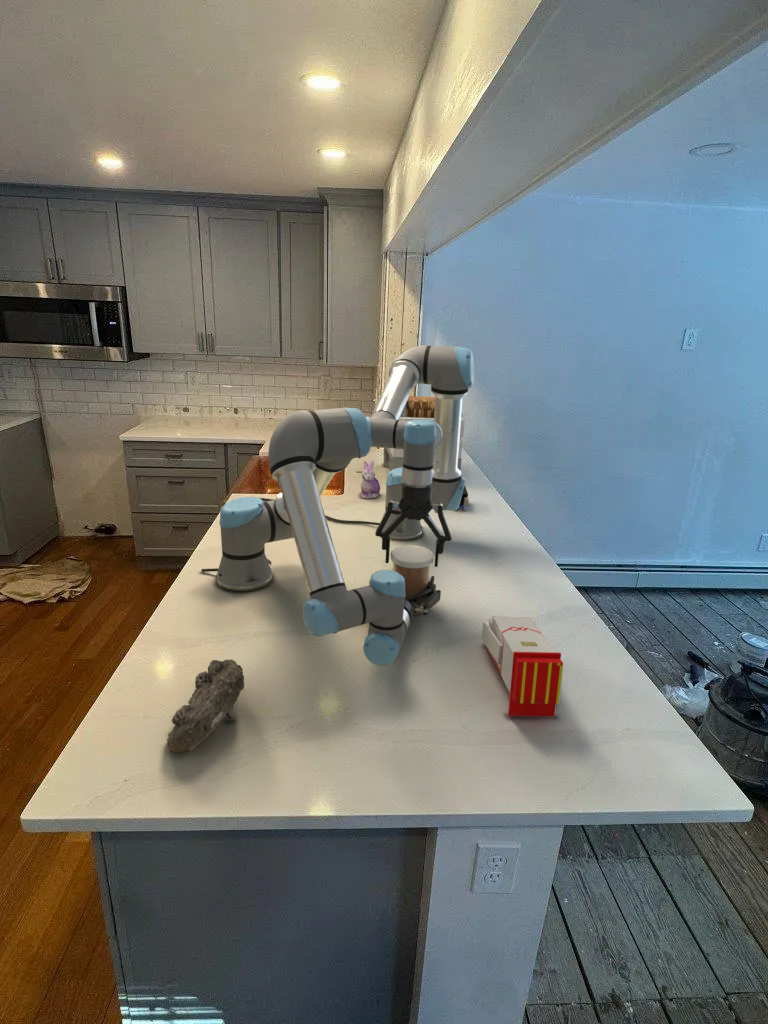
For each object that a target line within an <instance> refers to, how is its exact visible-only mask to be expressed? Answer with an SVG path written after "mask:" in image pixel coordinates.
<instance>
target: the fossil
mask: <svg viewBox="0 0 768 1024" xmlns="http://www.w3.org/2000/svg"><path fill="white" fill-rule="evenodd" d="M243 670H244V669H243V667H242V665H240V664H237V662H236V661H235V660H234V659H232V658H231V659H227V658H226V659H224V660H223V661H222V660H217V659H212V660H211V661H210V663H209V665H208V666H207V671H201V672H199V673H198V674H197V675H196V676H195V680H194V684H195V685H194V687H195V689H194V690H193V693H192V694H191V697H190V698H189V700H188V704H184V705H182V706H181V707H180V709H177V710H176V711H175V713H174V715H173V716H172V718H171V723H172V724H173V727H172V730H171V731H170V732H168V734H167V738H166V741H167V742H166V745H167V749H168V750H169V751H173V752H174V753H176V754H178V753H182V752H188V751H189V752H192V751H193V750H195V748H196V747H197V746H199V744H200V743H201V742H203V741H204V740H205V739H206V738H207V737H208V736H209V735H210V734H211V733H212V732H214V730H215V729H217V727H218V726H219V724H220V722H221V721H222V720H223V719H224V718H225V716H226V717H227V719H229V720H233V717H232V715H230V714H229V710H230V709H231V708H234V706H235V704H236V703H237V702H238V699H239V697H240V695H241V693H242V691H243V690H245V689H244V688H245V675H244V671H243Z"/></svg>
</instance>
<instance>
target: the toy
mask: <svg viewBox="0 0 768 1024" xmlns="http://www.w3.org/2000/svg"><path fill="white" fill-rule="evenodd" d="M481 632H482V633H481V640H482V642H483V644H484V646H485V648H486V650H487V652H488V654H489V655H490V657H491V659H492V661H493V663H494V664H495V666H496V668H497V670H498V671H499V674H500V676H501V678H502V680H503V682H504V684H505V687H506V688H507V690H508V692H509V700H508V702H509V703H508V710H507V711H508V712H507V715H508V717H551V718H552V717H553V718H555V716H556V707H557V705H559V704H560V698H561V697H560V695H561V688H562V687H561V686H562V678H563V669H564V662H563V661H562V653H561V652H556V651H555V649H554V648H553V647H552V645H551V644H550V643H549V641H548V639H547V638H546V637H545V635H544V634H543V633H542V631H541V630H540V629H539V628H538V626H537V624H536V622H535V621H534V620H533V619H532V617H531V616H514V615H513V616H512V615H511V616H508V615H507V616H506V615H505V616H504V615H492V618H489V620H488V623H487V621H483V623H482V631H481Z"/></svg>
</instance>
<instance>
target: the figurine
mask: <svg viewBox="0 0 768 1024" xmlns="http://www.w3.org/2000/svg"><path fill="white" fill-rule="evenodd" d="M362 464H363V470H362V472H361V478H362V481H361V483H360V490H361V491H360V496H361V498H362V499H373V498H377V497H379V496H380V491H381V484H380V481H379V480H378V478H376V473H375V471H374V465H375V460H370V462H369V464H368V462H367V461H366V460H364V461H363V463H362Z"/></svg>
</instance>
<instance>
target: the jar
mask: <svg viewBox="0 0 768 1024" xmlns="http://www.w3.org/2000/svg"><path fill="white" fill-rule="evenodd" d="M391 569H392V570H391V571H395V572H398V573H399V574H400V575H402V576H403V577H404V580H405V595H406V596H405V597H409V596H411V595H417V594H419V593H421V592H423V591H425V590H427V586H428V584H429V581H430V579H431V576H430V575H431V565H429V566H427V567H424V568H406V567H401V566H398V565H396V564H395V563H393V562H392V567H391ZM420 605H422V604H420ZM420 605H419V606H420ZM420 614H423V612H418V611H417V612H416V613H415V614H414V615H413V616H416V615H420Z"/></svg>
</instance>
